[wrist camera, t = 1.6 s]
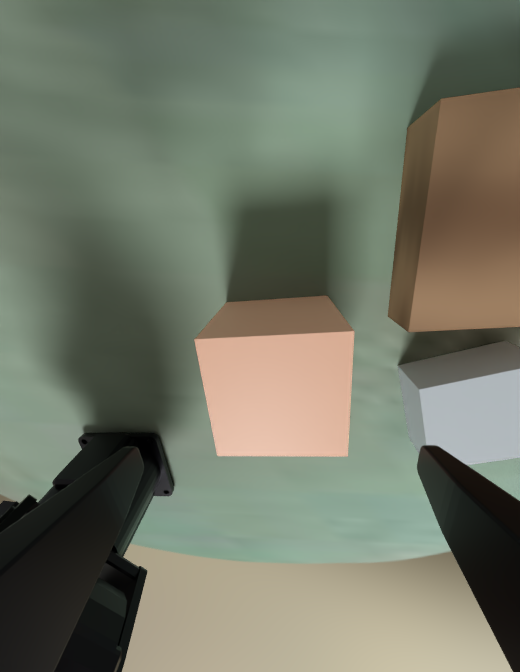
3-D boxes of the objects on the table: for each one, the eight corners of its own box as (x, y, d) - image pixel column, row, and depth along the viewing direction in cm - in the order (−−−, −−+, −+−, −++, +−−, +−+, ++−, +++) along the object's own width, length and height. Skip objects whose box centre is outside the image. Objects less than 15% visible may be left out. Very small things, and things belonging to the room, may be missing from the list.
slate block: (501, 417, 17) (544, 453, 14) (407, 434, 18) (429, 470, 15) (501, 338, 15) (551, 362, 12) (395, 363, 16) (419, 389, 13)
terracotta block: (326, 383, 17) (347, 456, 11) (238, 385, 17) (217, 455, 12) (327, 295, 15) (354, 331, 9) (226, 301, 15) (194, 339, 10)
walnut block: (552, 304, 14) (618, 321, 11) (385, 314, 15) (408, 332, 12) (623, 102, 11) (742, 55, 8) (403, 131, 12) (441, 98, 9)
